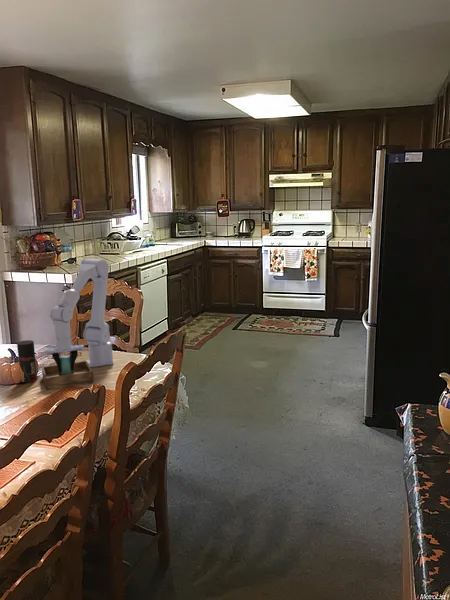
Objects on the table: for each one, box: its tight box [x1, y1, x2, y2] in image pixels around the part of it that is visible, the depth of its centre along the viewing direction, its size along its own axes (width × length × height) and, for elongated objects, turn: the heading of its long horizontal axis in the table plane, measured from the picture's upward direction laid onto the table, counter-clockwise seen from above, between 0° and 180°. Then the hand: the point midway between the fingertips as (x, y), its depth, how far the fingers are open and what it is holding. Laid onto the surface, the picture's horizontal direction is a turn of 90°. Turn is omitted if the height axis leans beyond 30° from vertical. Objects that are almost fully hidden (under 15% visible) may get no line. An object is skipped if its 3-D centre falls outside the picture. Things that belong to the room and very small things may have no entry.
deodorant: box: [16, 339, 38, 384], centre depth 201 cm, size 6×6×15 cm
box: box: [41, 360, 94, 391], centre depth 201 cm, size 17×14×4 cm
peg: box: [60, 355, 72, 376], centre depth 203 cm, size 4×4×8 cm
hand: (66, 370), depth 203 cm, fingers closed on peg, 4 cm apart
